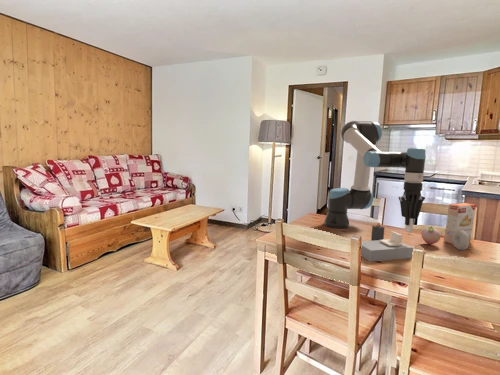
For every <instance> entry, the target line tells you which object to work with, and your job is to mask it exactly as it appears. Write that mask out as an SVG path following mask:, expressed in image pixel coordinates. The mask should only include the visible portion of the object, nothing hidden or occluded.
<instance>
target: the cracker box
mask: <svg viewBox="0 0 500 375" xmlns="http://www.w3.org/2000/svg"><path fill="white" fill-rule="evenodd" d="M476 207H477V205H476V204H473V203H468V202H461V203H449V204H448V209H447V216H446V223H445V229H444V230H445V231H444V238H443V242H444V243H447V244H449V245H454V243H453V235H454V233H455V232H456V231H458V230H463V231H465V232H466V233H467V235H468V237H469V243H470V242H471V240H472V239H471V237H472V232H473V225H474V219H475V213H476ZM454 246H455V245H454Z"/></svg>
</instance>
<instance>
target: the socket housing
mask: <svg viewBox="0 0 500 375" xmlns="http://www.w3.org/2000/svg"><path fill="white" fill-rule="evenodd" d="M401 243H402V244H403V245H402V246H388V245H386V244H384V243H382V242H380V241H379V240H374V241H371V240H362V248H361V255H362V256H361V257H362V258H363V259H365V260H367V261H369V262H381V261H391V260H392V261H393V260H403V259H405V260H406V259H412V258H413V254H412V252H413V253H414V247H413V246H411V245H408V244H406V243H404V242H402V241H401Z"/></svg>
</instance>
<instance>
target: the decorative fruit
mask: <svg viewBox="0 0 500 375" xmlns="http://www.w3.org/2000/svg"><path fill="white" fill-rule="evenodd" d="M421 238H422V240H423V241H424V242H425V243H426V244H427V245H429V246H431V245H434V244H436V243H438V242H439V241H440V239H441V233H440V231H439V230H438V229H436V228H434V227H433V226H432V225H431V226H428V227H425V228H423V229H422V230H421Z"/></svg>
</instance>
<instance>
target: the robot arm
mask: <svg viewBox="0 0 500 375" xmlns="http://www.w3.org/2000/svg"><path fill="white" fill-rule="evenodd" d="M340 135H341V138H342V140H343V141H344V142H345V143H346V144H350V145H351V146H352V148H354V149H355V150H356V151H357V153H356V161H355V170H354V178H353V179H354V180H353V184H352V185H351V186H350V190H349V188H345V187H337V188H336V187H335V188H332V189H330V190H329V194H328V203H327V204H328V206H327V213H326V216H325V219H324V221H323V222H324V223H323V225H324V226H327V227H328V228H334V229H347V228H349V227H350V221H349V217H348V210H366V209H369V208H370V207H371V206H372V205H373V202H374V194H373V193H374V192H372V191H371V188H370V187H369V183H370V182H369V181H370V174H371V168H400V169H401V168H402V169H404V170H405V171H404V179H403V180H404V183H403V190H404V192H403V193H402V194H403V195H401V196H398V201H399V203H400V204H399V205H400V211H401V212H400V213H401V217H404V219H405V220H404V221H405V222H404V225H405V230H404V231H405V232H406V233H413V229H414V224H415V220H416V219H417V218H419V216H420V213H421V210H422V208H423V204H424V201H425V199H426V197H425V196H423V195H422V193H421V191H422V190H423V185H424V184H423V182H424V172H425V164H426V149H425V148H423V147H421V148H420V147H409V148H407V150H406V151H383V150H382V151H381V149H378V147H376V145H377V142H379V141H381V139H382V136H383V130H382V126H381V125H380V123H379V122H376V121H365V120H364V121H362V120H361V121H360V120H358V121H357V120H351V121H348V122H346V123H345V124H344V125H343V126H342V129H341V131H340Z"/></svg>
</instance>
